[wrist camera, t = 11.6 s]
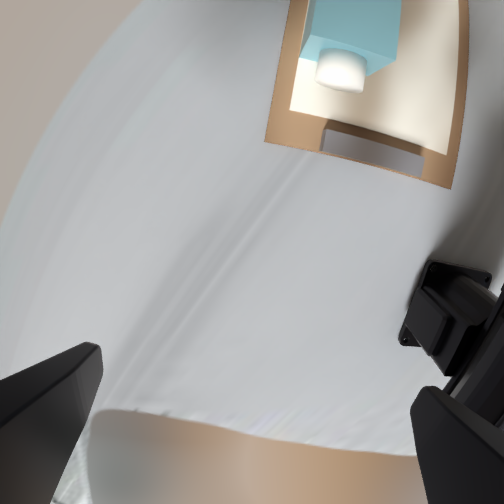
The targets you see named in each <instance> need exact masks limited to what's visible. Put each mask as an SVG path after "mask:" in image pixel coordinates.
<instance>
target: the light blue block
mask: <svg viewBox="0 0 504 504" xmlns="http://www.w3.org/2000/svg"><path fill="white" fill-rule="evenodd" d="M401 1H402V0H309V5H308V11H307V16H306V22H305V27H304V33H303V38H302V43H301V49H300V54H299V58H303V59H307V60H312V61H316V62H318V64H317V69H316V75H315V82H316V83H317V84H319V85H321V86H323V87H326V88H329V89H332V90H336V91H341V92H347V93H361V92H363V87H364V81H365V75H366V76H369V75H371V74H373V73H374V72H376V71H378V70H380V69H381V68H383V67H385V66H387V65H389V64H390V63H392V62H394V61H396V56H397V47H398V38H399V27H400V15H401Z"/></svg>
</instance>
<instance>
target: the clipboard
mask: <svg viewBox="0 0 504 504" xmlns="http://www.w3.org/2000/svg"><path fill="white" fill-rule="evenodd" d="M308 5H309V0H291V1H290V6H289V11H288V17H287V22H286V27H285V33H284V38H283V43H282V49H281V54H280V59H279V65H278V70H277V75H276V81H275V86H274V92H273V97H272V103H271V108H270V113H269V119H268V124H267V130H266V135H265V141H264V142H268V143H273V144H278V145H284V146H289V147H294V148H299V149H304V150H308V151H313V152H318V153H322V154H326V155H331V156H335V157H339V158H343V159H348V160H352V161H356V162H359V163H363V164H367V165H371V166H375V167H378V168H382V169H386V170H389V171H393V172H396V173H400V174H403V175H406V176H410V177H413V178H416V179H419V180H423V181H426V182H429V183H432V184H435V185H438V186H441V187H444V188H447V189H450V190H451V186H452V182H453V177H454V172H455V167H456V162H457V157H458V151H459V145H460V139H461V132H462V125H463V118H464V109H465V100H466V90H467V77H468V58H469V8H468V0H402V1H401V15H400V27H399V38H398V47H397V56H396V61H394V62H392V63H390V64H389V65H387V66H385V67H383V68H381V69H380V70H378V71H376V72H374V73H373V74H371V75H369V76H366V75H365V81H364V87H363V92H361V93H347V92H341V91H336V90H332V89H329V88H326V87H323V86H321V85H319V84H317V83H316V82H315V75H316V69H317V64H318V62H316V61H312V60H307V59H303V58H299V54H300V49H301V43H302V38H303V33H304V27H305V22H306V16H307V11H308Z"/></svg>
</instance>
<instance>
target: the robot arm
mask: <svg viewBox="0 0 504 504" xmlns="http://www.w3.org/2000/svg"><path fill="white" fill-rule="evenodd" d="M433 265H434V268H433V269H432V270H430V269H431V267H432V266H433ZM486 277H487V278H486ZM485 278H486V279H485ZM491 280H492V275H491V274H490V273H489V272H487V271H484V270H479V269H475V268H470V267H466V266H461V265H457V264H452V263H447V262H442V261H438V260H429V261H428V262H427V263H426V265H425V267H424V270H423V273H422V276H421V279H420V282H419V285H418V288H417V290H416V291H415V294H414V297H413V299H412V302H411V305H410V307H409V310H408V312H407V315H406V318H405V320H404V325H403V327H402V330H401V332H400V334H399V337H398V341H399V343H400V344H401V345H402V346H414V347H422V348H423V350H424V351H425V353H426V354H427V355H428V356H431V357H432V359H433V360H434V362H435V363H436V365H437V366H438V367H439V369H440V370H441V372H442V373H443V375H444V376H450V377H451V379H450V380H449V382H448V383H447V385H446V386H445V387H444V389H443V390H441V389H439V388H438V387H436V386H425V387H423V388H422V389H421V390H420V392H419V394H418V395H417V397H416V399H415V401H414V402H413V404H412V406H411V409H410V416H411V422H412V427H413V434H414V440H415V446H416V452H417V457H418V462H419V466H420V470H421V474H422V478H423V482H424V486H425V490H426V496H427V500H428V504H504V284H503V286H502V288H501V291H502V292H501V294H500V296H499V298H498V297H497V296H496V295H494V294H493V293H492V292H491V291H489V290H488V288H489V285H490V283H491ZM406 337H407V338H406ZM404 338H406V339H405V340H404ZM102 376H103V362H102V353H101V348H100V346H99V345H97V344H94V343H90V342H84V343H81V344H79V345H77V346H75V347H73V348H70V349H68V350H66V351H64V352H62V353H60V354H57V355H55V356H53V357H51V358H49V359H46V360H44V361H42V362H40V363H38V364H35V365H33V366H31V367H29V368H26V369H24V370H22V371H20V372H18V373H15V374H13V375H11V376H9V377H6V378H4V379H2V380H0V504H50V502H51V500H52V497H53V495H54V492H55V490H56V488H57V485H58V483H59V481H60V478H61V476H62V474H63V472H64V469H65V467H66V465H67V463H68V460H69V458H70V456H71V454H72V452H73V449H74V447H75V445H76V443H77V441H78V439H79V437H80V434H81V432H82V430H83V428H84V426H85V424H86V421H87V419H88V416H89V413H90V410H91V407H92V404H93V401H94V399H95V396H96V393H97V390H98V387H99V385H100V382H101V379H102Z"/></svg>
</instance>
